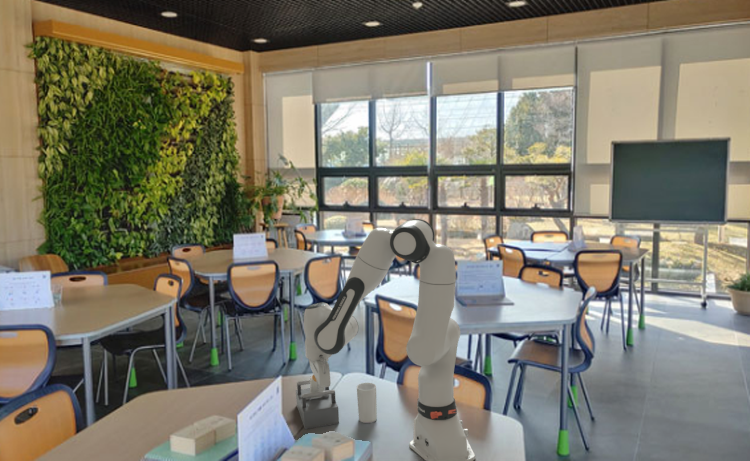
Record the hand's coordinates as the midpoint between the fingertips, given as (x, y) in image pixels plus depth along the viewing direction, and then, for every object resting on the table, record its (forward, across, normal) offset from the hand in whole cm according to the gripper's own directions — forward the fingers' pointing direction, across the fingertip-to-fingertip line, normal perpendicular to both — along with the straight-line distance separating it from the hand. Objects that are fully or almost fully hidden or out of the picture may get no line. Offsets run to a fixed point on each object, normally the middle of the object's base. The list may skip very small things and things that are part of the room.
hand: (320, 390), depth 191 cm
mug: (+14, +3, -17) cm, 22 cm away
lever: (+7, +12, 0) cm, 14 cm away
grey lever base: (+14, +12, 0) cm, 18 cm away
